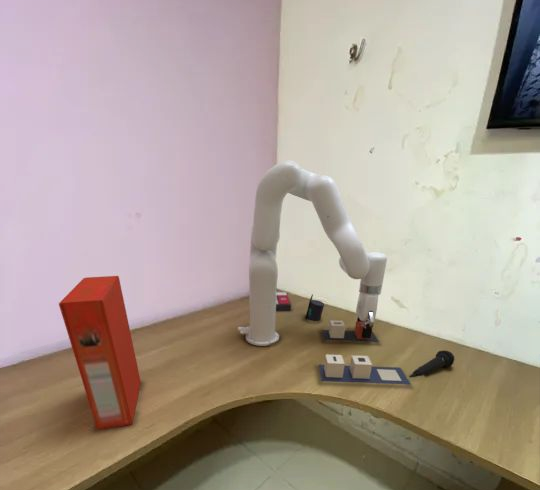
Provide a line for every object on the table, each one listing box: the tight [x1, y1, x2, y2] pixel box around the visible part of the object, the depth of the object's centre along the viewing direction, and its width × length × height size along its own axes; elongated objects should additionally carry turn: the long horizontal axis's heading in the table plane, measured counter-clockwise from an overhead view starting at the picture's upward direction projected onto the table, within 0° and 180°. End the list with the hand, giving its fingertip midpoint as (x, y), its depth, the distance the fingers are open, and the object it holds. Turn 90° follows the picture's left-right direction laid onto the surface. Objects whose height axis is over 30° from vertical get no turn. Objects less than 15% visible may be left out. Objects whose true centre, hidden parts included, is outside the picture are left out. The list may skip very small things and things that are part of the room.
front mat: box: [318, 364, 411, 385], centre depth 95 cm, size 26×9×1 cm, turn 88°
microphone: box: [408, 349, 455, 378], centre depth 98 cm, size 6×6×20 cm
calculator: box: [276, 291, 292, 312], centre depth 147 cm, size 11×4×15 cm
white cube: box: [323, 354, 346, 378], centre depth 94 cm, size 5×5×5 cm
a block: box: [328, 319, 346, 338], centre depth 117 cm, size 5×5×5 cm
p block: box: [349, 355, 373, 379], centre depth 94 cm, size 5×5×5 cm
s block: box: [354, 320, 372, 339], centre depth 117 cm, size 5×5×5 cm
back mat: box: [321, 329, 379, 343], centre depth 118 cm, size 20×9×1 cm, turn 88°
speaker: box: [304, 294, 325, 322], centre depth 131 cm, size 8×6×10 cm
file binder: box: [58, 275, 142, 431], centre depth 74 cm, size 8×17×32 cm, turn 14°
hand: (363, 332), depth 117 cm, fingers open, 8 cm apart
